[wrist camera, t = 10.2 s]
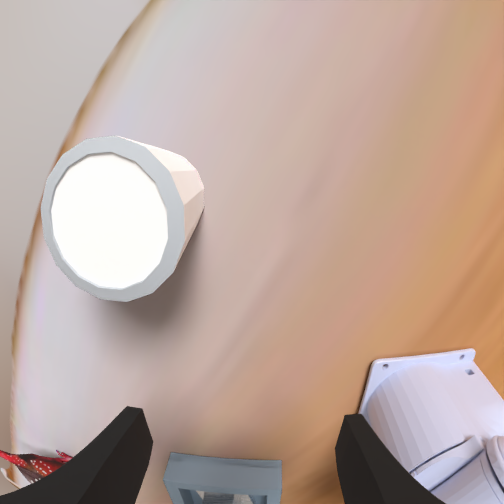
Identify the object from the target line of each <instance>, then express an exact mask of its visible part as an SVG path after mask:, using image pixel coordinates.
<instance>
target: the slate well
mask: <svg viewBox="0 0 504 504" xmlns="http://www.w3.org/2000/svg"><path fill="white" fill-rule="evenodd" d="M163 481H164V484H165V486H166V488H167V491H168V493H169V495H170V498H171V500H172V502H173V504H202V503H203V499H202V498H201V497H200V496H199V494H198V493H197V492H196V491H204V492H214V493H225V494H240V495H253V497H254V499H255V500H256V504H280V499H281V493H282V460H247V459H229V458H216V457H205V456H196V455H187V454H180V453H173V452H171V454H170V458H169V461H168V464H167V468H166V471H165V474H164V478H163Z"/></svg>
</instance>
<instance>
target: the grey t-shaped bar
mask: <svg viewBox="0 0 504 504" xmlns="http://www.w3.org/2000/svg"><path fill="white" fill-rule="evenodd" d="M196 492H197V493H198V494H199V496H200V497H201V498H202V499H203V503H202V504H256V500H255V499H254V497H253V495H240V494H225V493H214V492H204V491H196Z"/></svg>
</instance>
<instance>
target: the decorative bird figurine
mask: <svg viewBox="0 0 504 504" xmlns="http://www.w3.org/2000/svg"><path fill="white" fill-rule="evenodd" d="M56 451H57V450H56ZM57 453H58V455H60V456H61V457H64V458H49V457H43V456H39V455H36V454H20V455H19V454H17V455H16V454H10V453H7V452H4V451H1V450H0V457H2V458H4V459H6V460H8V461H10V462H11V463H13V464H15V465H16V466H17V468H18V469H19V470H20V472H21V473H22V474H23V475H24V477H25V478H26V479H27V480H28V481H29V482H30V483H31V484H32V483H34V482H36V481H38V480H40V479H42V478H44V477H45V476H47V475H49V474H50V473H52V472H54V471H55V470H57V469H58V468H60V467H61V466H63V465H64V464H65V463H64V462H68V461H69V460H71V459H72V457H70V456H68V455H66V454H65V453H63V452H62V453H61V454H60V453H59V452H58V451H57ZM62 454H63V455H62Z"/></svg>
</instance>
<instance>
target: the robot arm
mask: <svg viewBox="0 0 504 504" xmlns="http://www.w3.org/2000/svg"><path fill="white" fill-rule="evenodd" d="M461 355H462V356H461ZM460 356H461V357H460ZM474 356H475V350H474V349H473V348H470V349H464V350H457V351H450V352H443V353H435V354H427V355H418V356H408V357H397V358H386V359H377V360H375V361H374V362H373V363H372V365H371V368H370V372H369V376H368V380H367V384H366V388H365V391H364V395H363V398H362V402H361V405H360V409H359V412H358V414H352V415H345V416H344V420H343V423H342V427H341V430H340V434H339V437H338V440H337V444H336V447H335V452H336V463H337V471H338V476H339V480H340V485H341V489H342V493H343V497H344V502H345V504H504V401H503V399H502V398H501V397H500V395H499V394H498V393H497V391H496V390H495V389H494V387H493V386H492V385H491V383H490V382H489V381H488V379H487V378H486V377H485V376H484V374H483V373H482V372H481V370H480V369H479V368H478V367H477V365H476V364H475V363H474V362H473V359H474ZM384 364H386V365H385V366H383V365H384ZM152 446H153V440H152V437H151V434H150V431H149V428H148V425H147V422H146V419H145V416H144V413H143V409H141V408H135V407H129V406H127V407H126V408H125V409H124V410H123V411H122V412H121V413H120V414H119V415H118V416H117V417H116V418H115V419H114V420H113V421H112V422H111V423H110V424H109V425H108V426H107V427H106V428H105V429H104V430H103V431H102V432H101V433H100V434H99V435H98V436H97V437H96V438H95V439H94V440H93V441H92V442H91V443H90V444H88V445H87V446H86V447H85V448H84V449H83V450H82V451H80V452H79V453H78V454H77V455H76V456H74V457H73V458H72V459H71V460H69V461H68V462H67V463H65V464H64V465H63V466H61V467H60V468H58V469H57V470H55V471H54V472H52V473H50V474H49V475H47V476H45V477H44V478H42V479H40V480H38V481H36V482H34V483H32V484H30V485H28V486H26V487H23V488H21V489H19V490H17V491H14V492H11V493H8V494H5V495H1V496H0V504H135V502H136V499H137V496H138V493H139V490H140V487H141V485H142V482H143V479H144V476H145V473H146V471H147V468H148V465H149V460H150V456H151V451H152Z"/></svg>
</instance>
